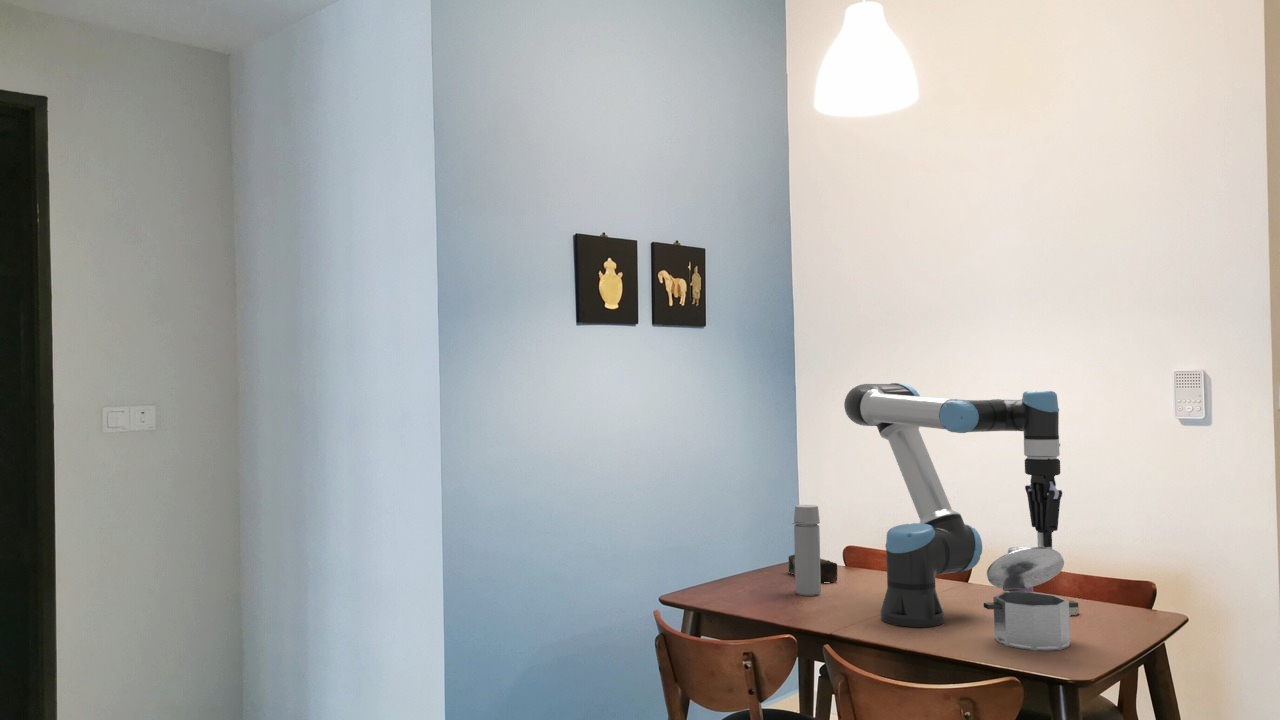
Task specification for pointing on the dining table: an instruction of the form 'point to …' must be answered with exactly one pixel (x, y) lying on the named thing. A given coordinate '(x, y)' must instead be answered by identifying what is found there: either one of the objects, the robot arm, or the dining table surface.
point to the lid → (1025, 568)
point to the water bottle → (807, 550)
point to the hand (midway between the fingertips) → (1045, 560)
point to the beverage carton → (826, 569)
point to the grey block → (1073, 610)
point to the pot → (1031, 620)
